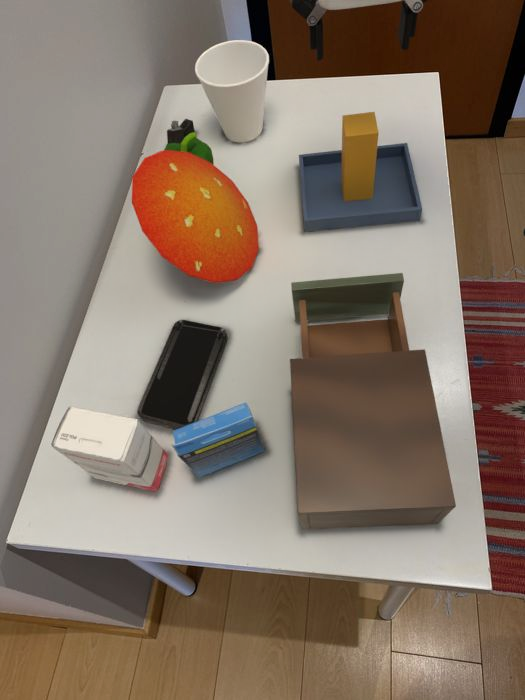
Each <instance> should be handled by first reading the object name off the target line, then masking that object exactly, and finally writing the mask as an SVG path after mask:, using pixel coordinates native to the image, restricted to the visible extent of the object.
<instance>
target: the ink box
mask: <svg viewBox="0 0 525 700" xmlns="http://www.w3.org/2000/svg"><path fill="white" fill-rule="evenodd" d="M50 445H51V448H53V449H54V450H55V451H57V452H58V453H59V454H61V455H62V456H64V457H65V458H67V459H68V460H70V461H71V462H72V463H74V464H75V465H77V467H79V468H81V469H82V470H83V471H85V472H86V473H87V474H89V475H90V476H92V477H93V478H94V479H96V480H100V481H104V482H105V481H106V482H110V483H114V484H119V485H124V486H128V487H133V488H136V489H137V488H138V489H142V490H146V491H150V492H151V491H152V492H158V491H159V488H160V485H161V482H162V479H163V476H164V473H165V470H166V466H167V463H168V459H169V455H168V453H167V452H166V451H165V450H164V449H163V447H162V446H161V445H160V444H159V442H157V439H155V438H154V437H153V436H152V434H151V433H150V432H149V431H148V430H147V428H146V427H145V426H144V425H143V424H142V422H141V421H140V420H139V419H138V418H133V417H127V416H123V415H118V414H117V415H116V414H112V413H107V412H101V411H96V410H91V409H86V408H80V407H74V406H68V407H67V409H66V411H65V412H64V414H63V416H62V417H61V420H60V421H59V423H58V425H57V428H56V430H55V433H54V436H53V437H52V440H51V443H50Z"/></svg>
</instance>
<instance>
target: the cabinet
mask: <svg viewBox="0 0 525 700" xmlns="http://www.w3.org/2000/svg"><path fill="white" fill-rule="evenodd" d="M289 366H290V367H289V368H290V369H289V370H290V384H291V385H290V387H291V388H290V389H291V406H292V407H291V408H292V425H293V444H294V445H293V446H294V466H295V482H296V503H297V504H296V505H297V516H298V518H299V522H300V525H301V529H302V531H303V530H305V531H306V530H326V529H327V530H328V529H350V528H351V529H353V528H376V527H379V528H380V527H397V526H398V527H399V526H400V527H404V526H424V525H425V526H426V525H427V526H428V525H439V523H441V522H442V521H443V520H444V519H445V518H446V517H447V516H448V515H449V513H451V512H452V511H453V510H454V509H455V508H456V507H457V505H456V498H455V494H454V488H453V484H452V479H451V474H450V469H449V464H448V458H447V454H446V448H445V444H444V439H443V434H442V429H441V424H440V419H439V418H440V417H439V413H438V408H437V402H436V399H435V398H436V397H435V393H434V388H433V382H432V378H431V373H430V368H429V363H428V357H427V353H426V349H424V348H423V349H411V350H410V349H409V351H395V352H381V353H367V354H354V355H340V356H326V357H312V358H303V357H300V358H299V357H298V358H290V359H289Z"/></svg>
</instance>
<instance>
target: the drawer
mask: <svg viewBox="0 0 525 700" xmlns="http://www.w3.org/2000/svg"><path fill="white" fill-rule="evenodd" d="M404 283H405V278H404V273H403V272H398V273H397V272H395V273H385V274H375V275H374V274H373V275H363V276H361V275H360V276H349V277H339V278H338V277H337V278H329V279H328V278H327V279H326V278H325V279H316V280H304V281H303V280H302V281H293V282H290V285H291V286H290V287H291V296H292V297H291V298H292V304H293V313H294V321H295V322H297V323H298V322H299V323H300V324H299V325H300V338H301V339H300V340H301V355H302V358H312V357H326V356H340V355H354V354H367V353H381V352H395V351H409V350H410V346H409V340H408V335H407V328H406V324H405V323H406V322H405V319H404V313H403V312H404V311H403V306H402V302H401V298H402V293H403V289H404ZM383 315H387V318H385V319H372V320H359V321H347V322H346V321H345V322H333V323H321V324H308V321H319V320H320V321H321V320H331V319H332V320H334V319H345V318H358V317H370V316H371V317H372V316H383Z"/></svg>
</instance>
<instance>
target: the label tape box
mask: <svg viewBox="0 0 525 700" xmlns="http://www.w3.org/2000/svg"><path fill="white" fill-rule="evenodd" d="M172 434H173V435H172V436H173V439H174V444H171V445H170V446H171V447H172V448H173V450H174V451H175V453H176V455H177V457H178V458H179V459H180V460H181V461H183V463H184V464H185V465H186V466H187V467H188V468H189V469H190V470H191V471H192V473H194V475H195V476H197V477H198V478H201V477H204V476H207V475H209V474H211V473H214V472H216V471H219V470H222V469H224V468H227V467H229V466H232V465H235V464H237V463H239V462H243V461H244V460H247V459H249V458H252V457H254V456H256V455H259V454H261V453H263V452H266V448H265V445H264V442H263V439H262V436H261V434H260V431H259V427H258V425H257V423H256V421H255V418H254V415H253V413H252V411H251V409H250V407H249V404H248V403H247V401H246V402H242V403H240V404H237V405H234V406H233V407H230V408H227V409H224V410H222V411H220V412H218V413H215V414H213V415H210V416H207V417H205V418H202V419H199V420H197V422H194V423H192V424H189V425H187V426H184V427H182V428H179V429H174V430H172Z"/></svg>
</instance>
